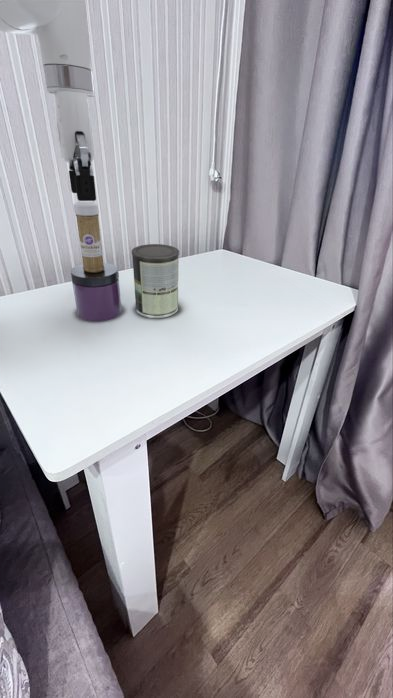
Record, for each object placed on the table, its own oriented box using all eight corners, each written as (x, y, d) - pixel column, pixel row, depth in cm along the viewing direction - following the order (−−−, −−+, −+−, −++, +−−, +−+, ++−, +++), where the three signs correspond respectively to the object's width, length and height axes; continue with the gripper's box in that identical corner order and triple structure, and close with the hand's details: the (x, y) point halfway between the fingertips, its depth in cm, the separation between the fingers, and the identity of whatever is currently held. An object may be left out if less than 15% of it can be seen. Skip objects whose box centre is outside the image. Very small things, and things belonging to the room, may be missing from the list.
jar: (80, 324, 72) (73, 283, 67) (75, 305, 79) (68, 267, 74) (126, 317, 75) (122, 277, 70) (116, 300, 83) (113, 263, 78)
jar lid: (74, 289, 67) (73, 280, 66) (69, 272, 75) (68, 264, 74) (123, 283, 71) (122, 275, 70) (113, 268, 78) (112, 260, 77)
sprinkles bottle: (84, 274, 69) (74, 205, 62) (82, 267, 73) (72, 201, 66) (106, 272, 71) (99, 204, 64) (103, 265, 74) (95, 200, 67)
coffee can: (126, 310, 79) (121, 250, 71) (155, 296, 86) (153, 241, 78) (159, 323, 74) (157, 260, 66) (187, 307, 81) (188, 250, 73)
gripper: (42, 86, 60) (59, 190, 69) (48, 73, 47) (67, 204, 56) (85, 91, 63) (95, 190, 72) (102, 80, 49) (112, 203, 59)
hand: (83, 196), depth 64 cm, fingers open, 9 cm apart
